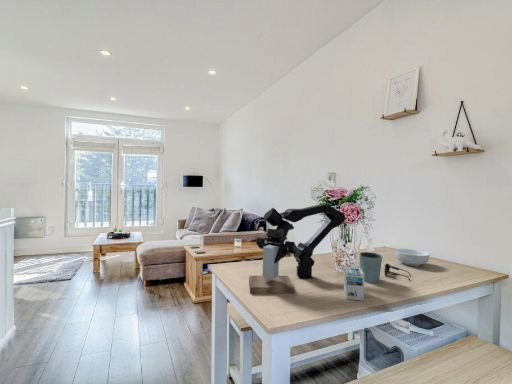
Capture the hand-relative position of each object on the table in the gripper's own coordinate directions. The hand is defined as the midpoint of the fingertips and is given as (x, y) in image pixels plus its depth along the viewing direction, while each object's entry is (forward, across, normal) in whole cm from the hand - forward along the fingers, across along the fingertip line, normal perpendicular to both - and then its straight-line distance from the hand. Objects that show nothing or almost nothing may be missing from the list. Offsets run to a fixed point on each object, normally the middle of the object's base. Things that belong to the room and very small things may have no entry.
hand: (269, 261), depth 120 cm
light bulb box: (-1, +32, +17) cm, 37 cm away
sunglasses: (-26, +45, +44) cm, 68 cm away
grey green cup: (-17, +35, +33) cm, 51 cm away
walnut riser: (+7, 0, +9) cm, 11 cm away
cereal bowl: (-45, +50, +63) cm, 92 cm away
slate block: (+4, 0, +6) cm, 7 cm away
